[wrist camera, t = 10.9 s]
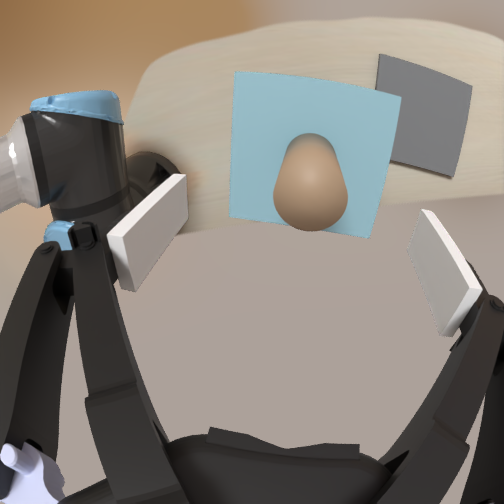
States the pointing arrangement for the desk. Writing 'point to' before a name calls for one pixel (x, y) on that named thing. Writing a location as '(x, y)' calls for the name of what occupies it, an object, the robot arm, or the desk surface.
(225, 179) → the desk surface
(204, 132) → the desk surface
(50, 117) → the robot arm
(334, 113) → the lid
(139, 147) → the desk surface
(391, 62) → the mat
